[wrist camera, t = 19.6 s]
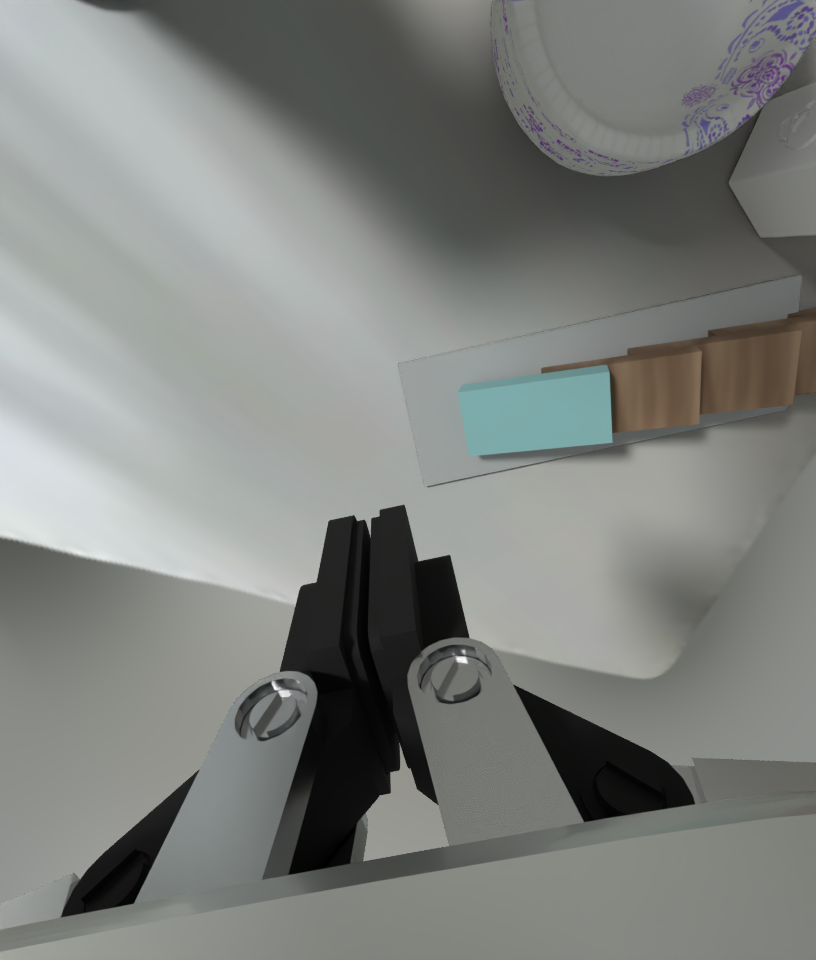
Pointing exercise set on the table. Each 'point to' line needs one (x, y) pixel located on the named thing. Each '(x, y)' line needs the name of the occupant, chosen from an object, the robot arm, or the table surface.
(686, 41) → the paper bowls
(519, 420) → the tile
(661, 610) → the table surface
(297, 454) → the table surface
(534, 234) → the table surface
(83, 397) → the table surface
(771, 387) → the tile
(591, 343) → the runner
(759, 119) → the jar
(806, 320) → the tile
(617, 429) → the tile
